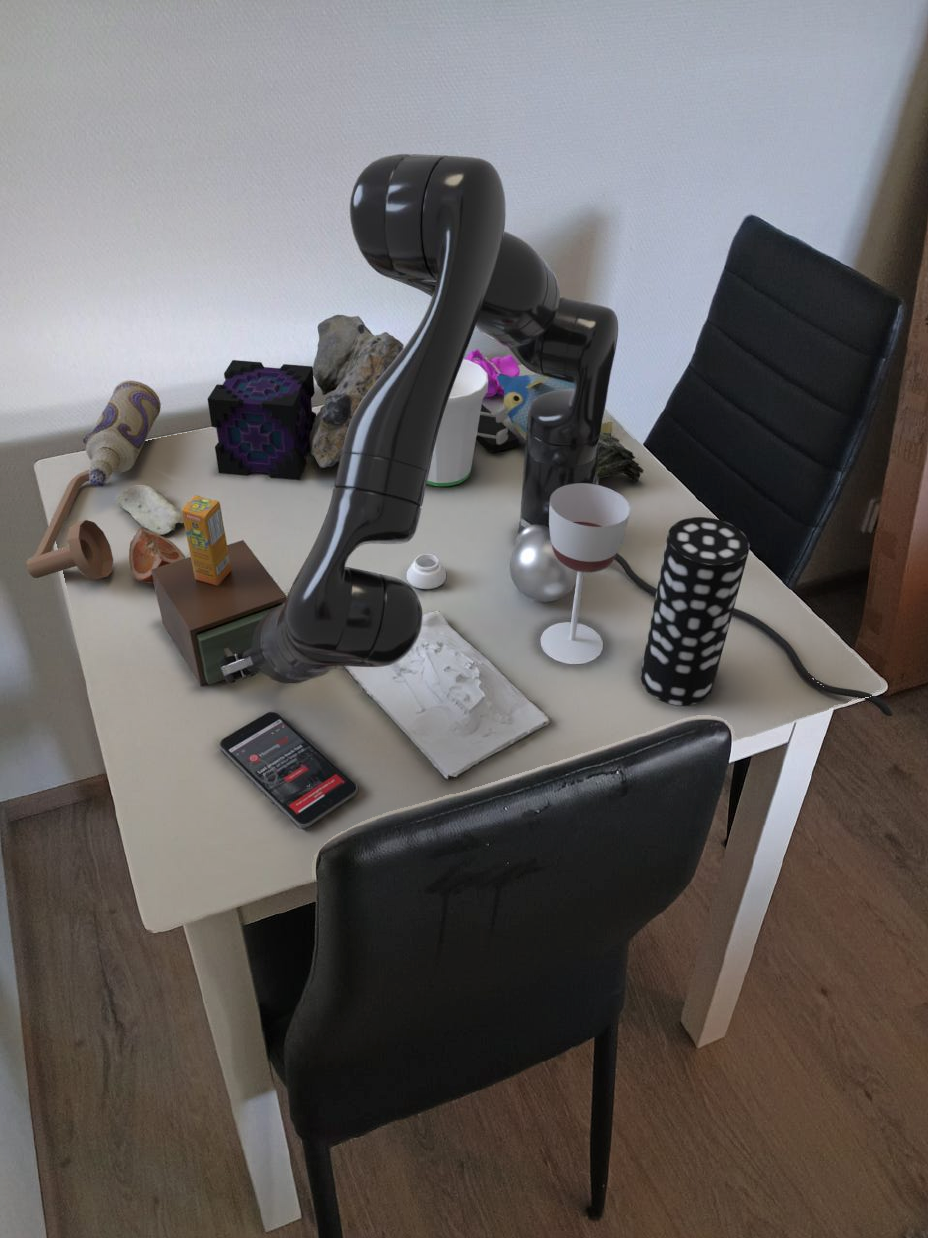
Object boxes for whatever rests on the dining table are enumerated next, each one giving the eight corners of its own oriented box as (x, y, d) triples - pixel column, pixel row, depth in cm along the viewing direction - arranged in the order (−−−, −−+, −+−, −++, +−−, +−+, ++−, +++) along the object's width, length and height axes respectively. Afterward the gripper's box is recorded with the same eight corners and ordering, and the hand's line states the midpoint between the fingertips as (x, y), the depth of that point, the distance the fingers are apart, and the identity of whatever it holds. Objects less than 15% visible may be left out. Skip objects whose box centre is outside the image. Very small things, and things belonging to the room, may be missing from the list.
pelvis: (531, 361, 167) (520, 400, 170) (482, 343, 170) (472, 381, 173) (497, 367, 157) (486, 408, 160) (446, 347, 160) (437, 387, 163)
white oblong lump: (112, 500, 140) (122, 473, 139) (141, 504, 144) (151, 478, 143) (158, 542, 134) (169, 515, 133) (187, 545, 138) (198, 518, 137)
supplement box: (192, 581, 115) (178, 508, 108) (208, 564, 117) (196, 491, 110) (217, 588, 114) (204, 515, 107) (233, 571, 116) (222, 498, 110)
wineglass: (589, 675, 117) (610, 536, 104) (523, 647, 120) (536, 508, 107) (618, 637, 122) (642, 499, 109) (555, 611, 125) (570, 475, 112)
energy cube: (318, 438, 155) (312, 366, 147) (299, 480, 146) (292, 405, 138) (242, 431, 156) (232, 359, 148) (218, 472, 147) (207, 398, 139)
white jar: (453, 579, 129) (427, 562, 132) (454, 561, 128) (427, 544, 130) (425, 596, 127) (398, 578, 129) (425, 578, 125) (398, 560, 127)
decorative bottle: (107, 406, 156) (120, 370, 153) (154, 427, 159) (168, 392, 155) (57, 487, 136) (71, 448, 132) (111, 510, 138) (127, 473, 135)
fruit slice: (123, 563, 130) (115, 532, 127) (174, 548, 133) (167, 517, 129) (144, 600, 125) (136, 568, 121) (196, 583, 127) (190, 551, 124)
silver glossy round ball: (610, 562, 124) (561, 499, 126) (564, 587, 118) (513, 521, 120) (570, 599, 131) (525, 539, 133) (524, 625, 125) (477, 561, 126)
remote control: (519, 449, 155) (473, 402, 164) (520, 439, 153) (473, 392, 163) (491, 456, 153) (446, 408, 162) (491, 446, 152) (446, 398, 161)
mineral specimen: (654, 497, 145) (614, 508, 154) (646, 410, 146) (606, 426, 155) (567, 499, 139) (530, 510, 148) (559, 407, 139) (522, 424, 148)
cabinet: (293, 651, 119) (286, 596, 113) (200, 686, 114) (189, 630, 108) (251, 593, 126) (243, 539, 121) (162, 624, 122) (150, 569, 116)
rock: (397, 452, 133) (304, 381, 127) (327, 499, 150) (242, 438, 144) (464, 320, 144) (382, 249, 139) (392, 377, 161) (316, 316, 155)
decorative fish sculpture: (513, 330, 150) (496, 411, 143) (634, 372, 153) (622, 454, 147) (489, 378, 161) (471, 455, 154) (602, 417, 164) (589, 494, 158)
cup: (500, 465, 150) (505, 371, 140) (454, 504, 142) (457, 407, 132) (430, 440, 155) (431, 347, 145) (383, 476, 147) (380, 381, 137)
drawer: (306, 673, 114) (302, 629, 110) (222, 707, 110) (213, 662, 106) (252, 599, 124) (246, 556, 120) (173, 627, 120) (163, 583, 115)
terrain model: (428, 618, 125) (427, 585, 122) (566, 711, 112) (569, 677, 109) (321, 680, 116) (317, 646, 113) (457, 789, 103) (457, 754, 100)
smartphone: (302, 827, 98) (216, 742, 106) (302, 831, 99) (217, 747, 107) (360, 787, 102) (273, 708, 110) (360, 792, 103) (274, 713, 111)
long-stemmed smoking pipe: (88, 499, 146) (60, 456, 141) (144, 480, 145) (117, 437, 140) (41, 608, 127) (6, 563, 122) (105, 588, 125) (72, 542, 120)
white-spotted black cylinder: (712, 711, 113) (750, 570, 100) (637, 699, 114) (665, 558, 101) (713, 661, 119) (749, 523, 106) (642, 650, 120) (669, 512, 107)
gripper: (350, 579, 96) (304, 607, 112) (219, 625, 91) (190, 648, 107) (378, 653, 96) (329, 670, 112) (249, 703, 91) (216, 714, 107)
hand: (261, 659), depth 109 cm, fingers closed
